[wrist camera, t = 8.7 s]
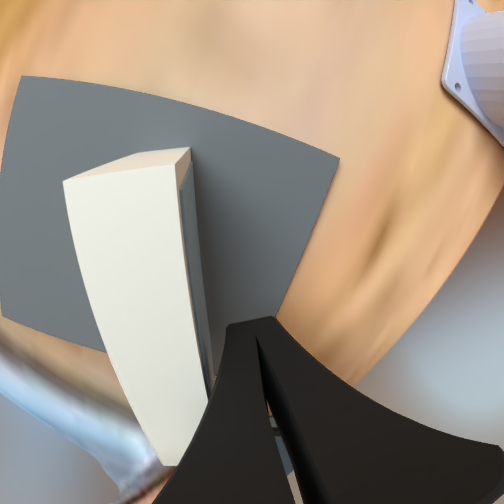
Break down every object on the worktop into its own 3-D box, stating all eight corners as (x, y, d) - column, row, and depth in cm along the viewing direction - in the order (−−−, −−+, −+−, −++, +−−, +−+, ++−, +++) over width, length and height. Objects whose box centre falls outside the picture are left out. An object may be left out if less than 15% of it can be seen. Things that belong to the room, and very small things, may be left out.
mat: (335, 157, 12) (340, 158, 11) (244, 374, 16) (245, 380, 15) (26, 76, 8) (21, 75, 8) (5, 312, 12) (2, 316, 11)
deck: (192, 146, 10) (179, 164, 4) (211, 344, 14) (224, 463, 8) (137, 152, 10) (62, 181, 4) (169, 347, 14) (163, 465, 8)
